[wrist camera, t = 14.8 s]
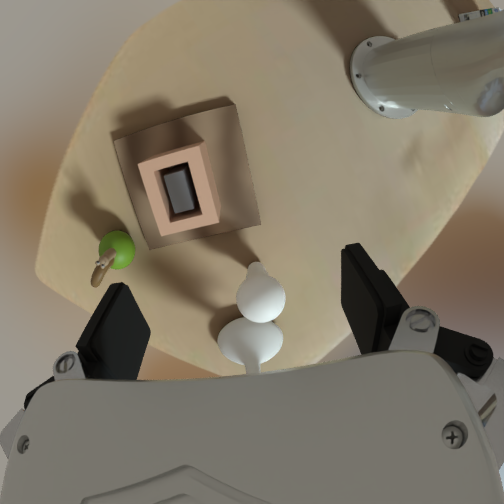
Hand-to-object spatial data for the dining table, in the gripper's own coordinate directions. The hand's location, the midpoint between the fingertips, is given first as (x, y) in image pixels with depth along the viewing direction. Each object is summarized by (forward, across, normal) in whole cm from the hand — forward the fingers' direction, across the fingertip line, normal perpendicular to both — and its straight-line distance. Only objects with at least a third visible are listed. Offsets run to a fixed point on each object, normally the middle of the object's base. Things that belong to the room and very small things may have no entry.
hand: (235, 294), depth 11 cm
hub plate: (+26, +7, 0) cm, 27 cm away
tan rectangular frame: (+25, +7, 0) cm, 26 cm away
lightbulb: (+26, +1, +15) cm, 30 cm away
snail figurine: (+26, +19, +6) cm, 32 cm away
